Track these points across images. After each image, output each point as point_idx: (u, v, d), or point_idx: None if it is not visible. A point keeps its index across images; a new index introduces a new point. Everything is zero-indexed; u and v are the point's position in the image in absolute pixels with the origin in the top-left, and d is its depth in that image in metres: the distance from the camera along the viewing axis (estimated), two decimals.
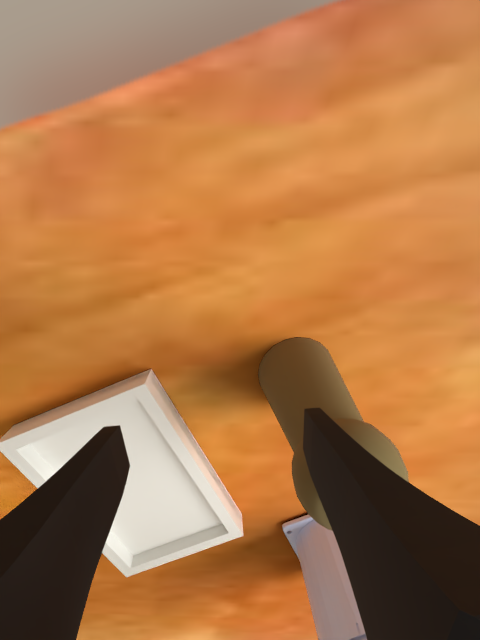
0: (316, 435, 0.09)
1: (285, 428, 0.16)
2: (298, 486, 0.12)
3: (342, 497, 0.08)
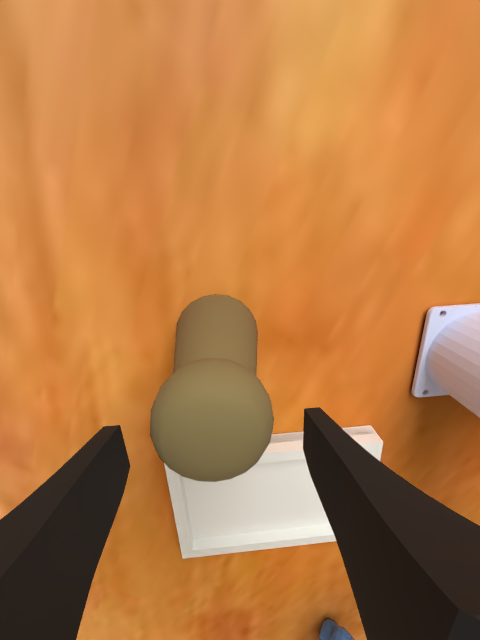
0: (316, 435, 0.09)
1: None
2: None
3: (342, 497, 0.08)
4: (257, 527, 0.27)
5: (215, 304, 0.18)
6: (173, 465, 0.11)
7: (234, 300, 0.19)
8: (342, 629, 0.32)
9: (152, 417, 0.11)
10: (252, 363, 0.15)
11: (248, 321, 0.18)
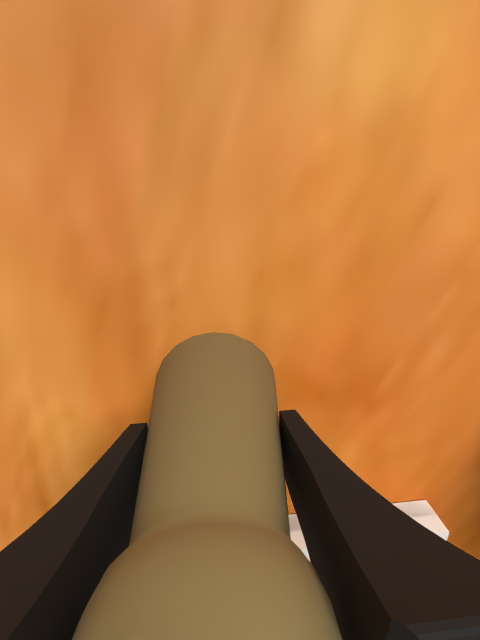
0: (288, 438, 0.09)
1: None
2: None
3: (308, 501, 0.08)
4: None
5: (213, 352, 0.12)
6: None
7: (242, 341, 0.13)
8: None
9: None
10: (281, 479, 0.08)
11: (265, 378, 0.12)
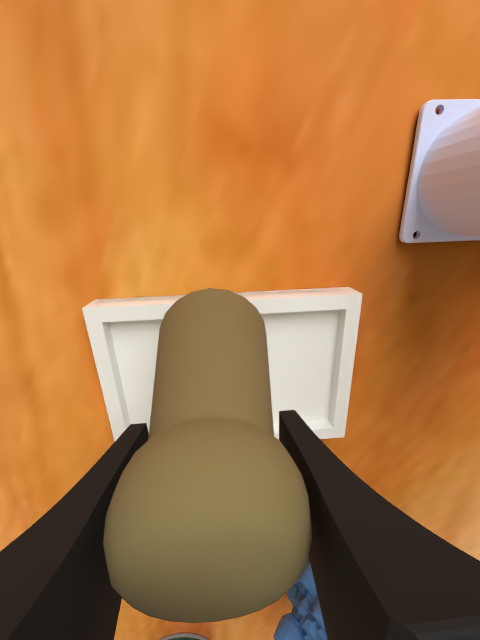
0: (287, 438, 0.09)
1: None
2: None
3: None
4: None
5: (210, 305, 0.13)
6: (147, 614, 0.06)
7: (236, 296, 0.14)
8: None
9: (105, 540, 0.06)
10: (268, 402, 0.10)
11: (256, 327, 0.13)
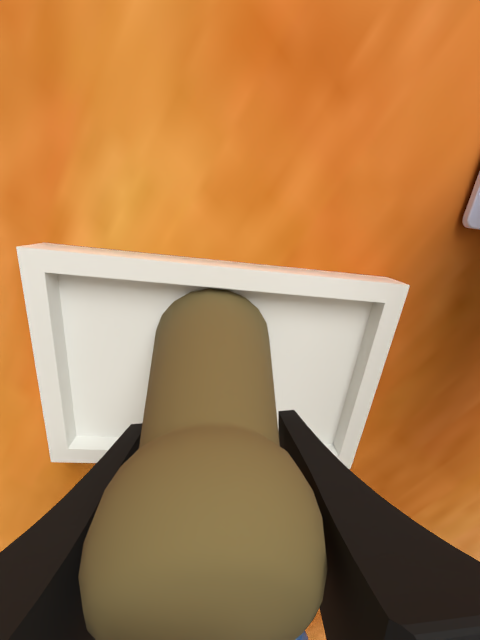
0: (287, 438, 0.09)
1: None
2: None
3: None
4: None
5: (209, 305, 0.12)
6: None
7: (237, 296, 0.13)
8: None
9: (80, 574, 0.05)
10: (272, 408, 0.09)
11: (259, 329, 0.12)
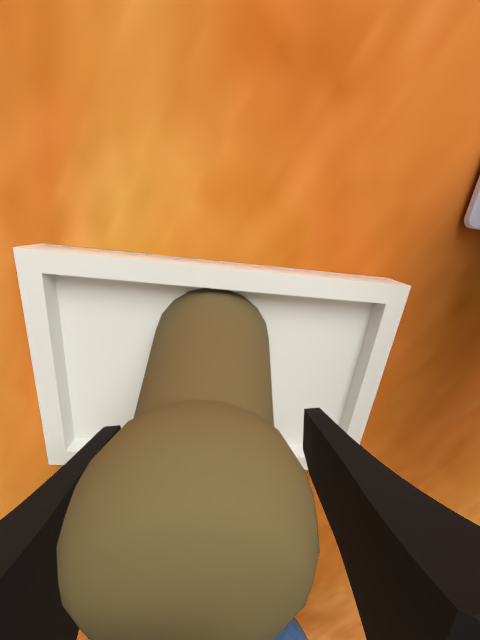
0: (316, 435, 0.09)
1: None
2: None
3: (342, 497, 0.08)
4: None
5: (208, 300, 0.12)
6: None
7: (236, 295, 0.14)
8: None
9: (58, 542, 0.05)
10: (267, 396, 0.09)
11: (257, 325, 0.12)
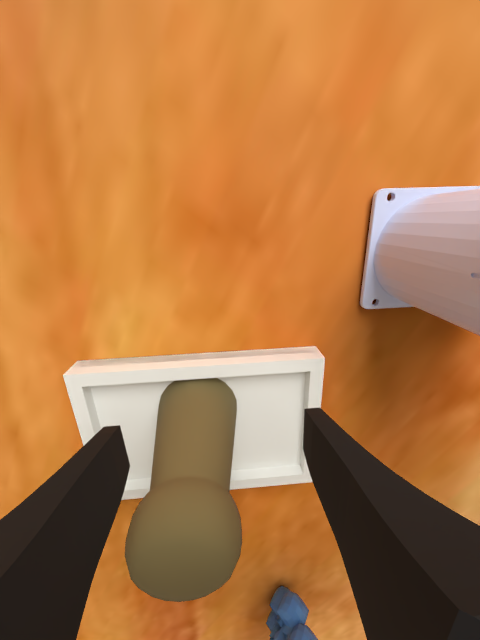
0: (316, 435, 0.09)
1: None
2: None
3: (342, 497, 0.08)
4: None
5: (188, 389, 0.19)
6: (151, 595, 0.12)
7: (208, 378, 0.20)
8: (293, 594, 0.28)
9: (125, 553, 0.12)
10: (223, 459, 0.15)
11: (222, 401, 0.19)
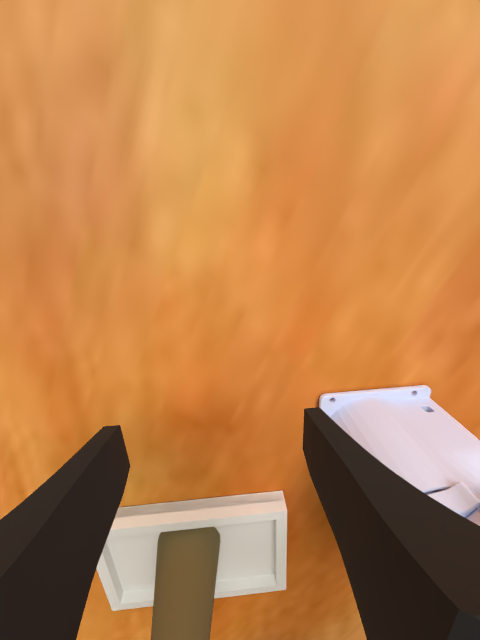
0: (316, 435, 0.09)
1: None
2: None
3: (342, 497, 0.08)
4: None
5: (180, 541, 0.24)
6: None
7: None
8: None
9: None
10: (204, 618, 0.21)
11: (206, 549, 0.24)
